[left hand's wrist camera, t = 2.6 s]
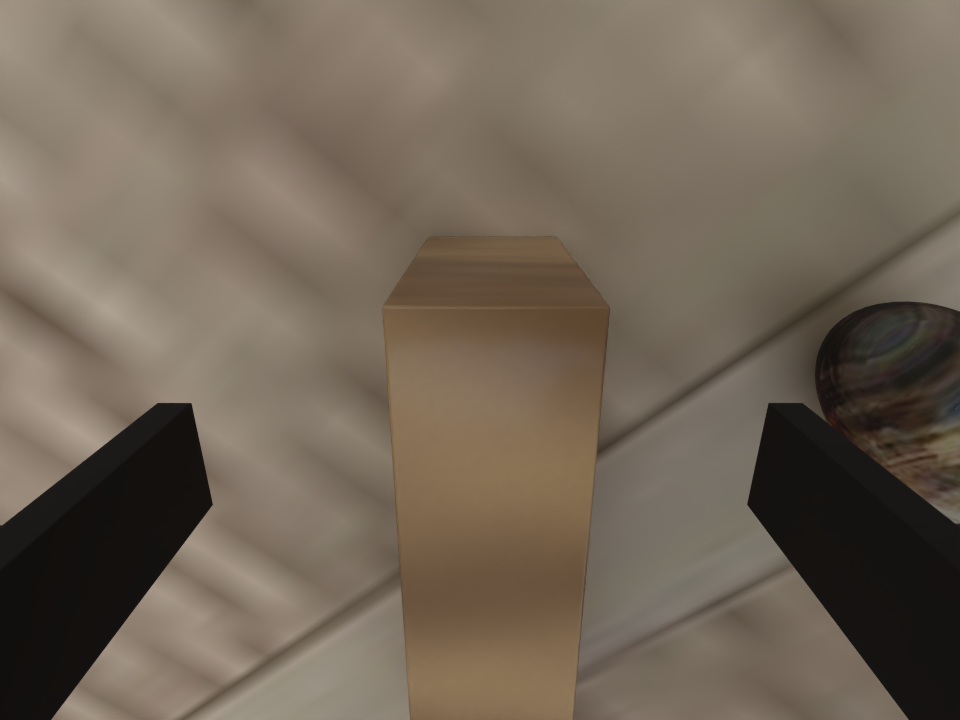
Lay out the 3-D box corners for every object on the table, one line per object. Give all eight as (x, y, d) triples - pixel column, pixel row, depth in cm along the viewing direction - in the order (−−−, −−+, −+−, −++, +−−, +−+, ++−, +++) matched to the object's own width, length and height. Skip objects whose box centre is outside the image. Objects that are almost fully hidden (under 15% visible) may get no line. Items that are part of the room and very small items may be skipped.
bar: (427, 236, 20) (381, 305, 11) (557, 236, 20) (611, 306, 11) (444, 706, 29) (425, 947, 20) (533, 707, 29) (552, 949, 20)
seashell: (992, 403, 22) (1253, 536, 14) (864, 488, 23) (1041, 647, 16) (865, 233, 20) (1098, 287, 12) (733, 340, 21) (867, 445, 14)
